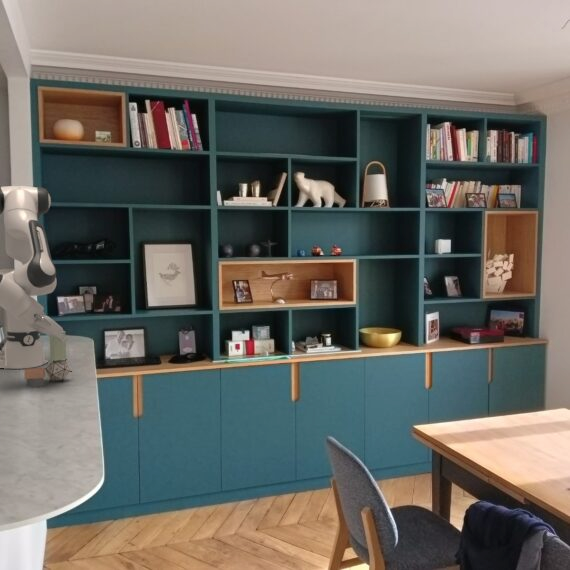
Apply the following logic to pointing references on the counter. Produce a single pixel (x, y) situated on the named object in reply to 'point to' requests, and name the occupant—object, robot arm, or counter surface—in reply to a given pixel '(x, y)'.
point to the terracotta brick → (34, 373)
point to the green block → (57, 348)
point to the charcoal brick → (35, 382)
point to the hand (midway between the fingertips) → (59, 338)
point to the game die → (58, 370)
